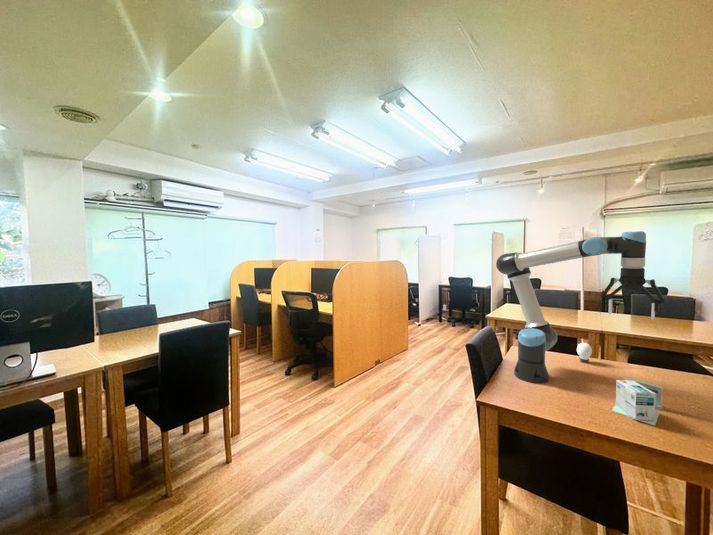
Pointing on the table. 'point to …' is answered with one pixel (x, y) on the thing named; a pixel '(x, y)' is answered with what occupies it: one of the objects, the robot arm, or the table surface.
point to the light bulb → (584, 352)
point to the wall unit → (654, 389)
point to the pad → (621, 412)
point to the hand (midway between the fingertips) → (630, 316)
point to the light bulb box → (635, 400)
